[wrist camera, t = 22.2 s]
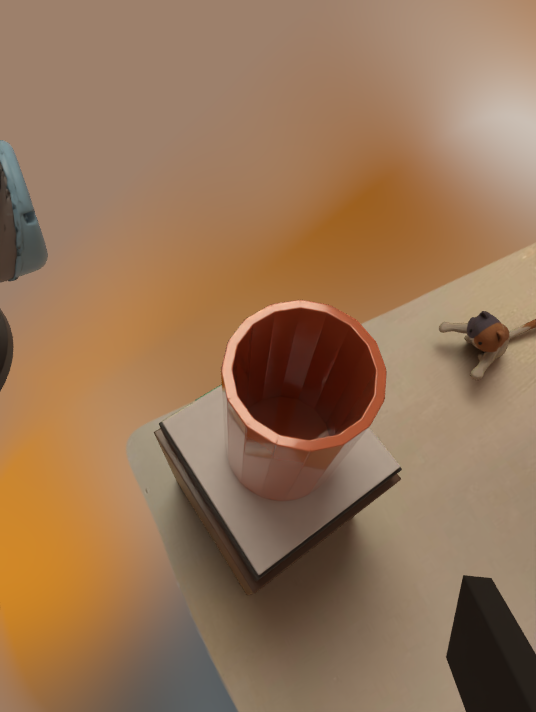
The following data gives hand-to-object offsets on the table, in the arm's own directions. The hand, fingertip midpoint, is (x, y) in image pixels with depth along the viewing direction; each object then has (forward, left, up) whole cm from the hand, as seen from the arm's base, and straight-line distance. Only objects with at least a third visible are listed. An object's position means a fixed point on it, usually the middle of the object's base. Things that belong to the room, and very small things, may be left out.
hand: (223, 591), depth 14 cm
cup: (-6, +8, -17) cm, 19 cm away
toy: (-5, +42, -36) cm, 55 cm away
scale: (-6, +8, -20) cm, 22 cm away
